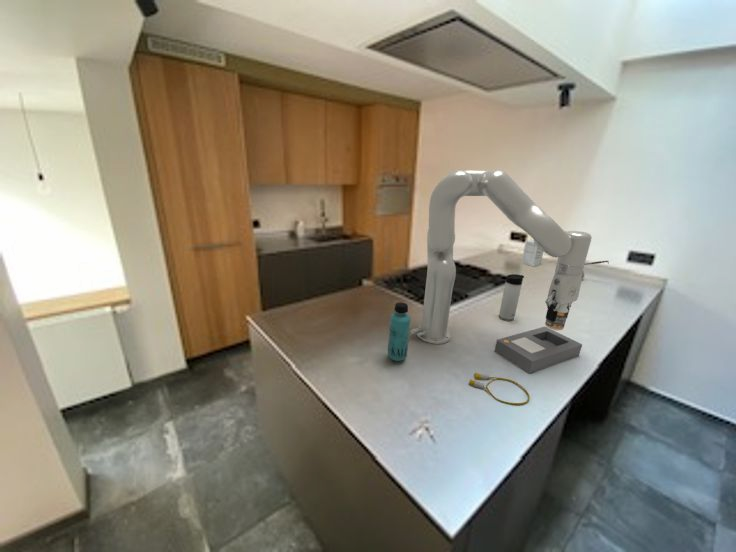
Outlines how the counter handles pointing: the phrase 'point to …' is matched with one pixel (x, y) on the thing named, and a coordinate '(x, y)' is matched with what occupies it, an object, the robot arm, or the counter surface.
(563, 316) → the pill bottle
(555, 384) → the counter surface
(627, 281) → the counter surface
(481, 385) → the yellow connector cable
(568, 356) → the socket block
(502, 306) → the travel mug
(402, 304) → the beverage bottle
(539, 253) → the supplement box
